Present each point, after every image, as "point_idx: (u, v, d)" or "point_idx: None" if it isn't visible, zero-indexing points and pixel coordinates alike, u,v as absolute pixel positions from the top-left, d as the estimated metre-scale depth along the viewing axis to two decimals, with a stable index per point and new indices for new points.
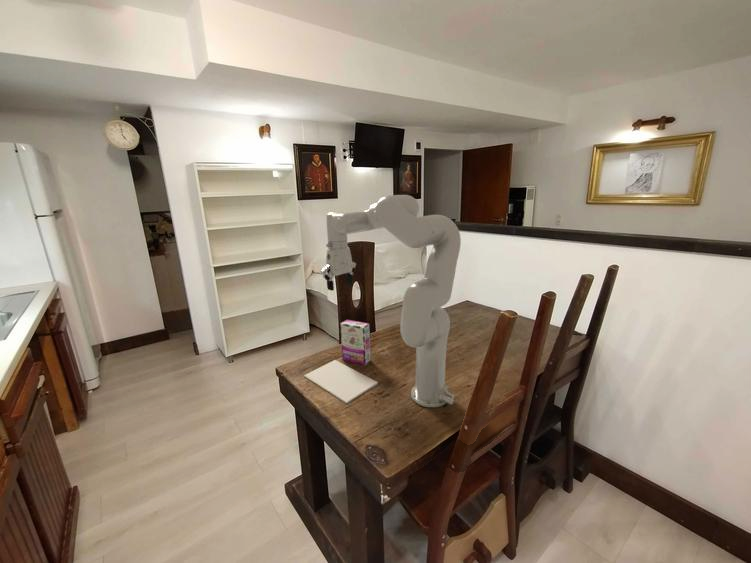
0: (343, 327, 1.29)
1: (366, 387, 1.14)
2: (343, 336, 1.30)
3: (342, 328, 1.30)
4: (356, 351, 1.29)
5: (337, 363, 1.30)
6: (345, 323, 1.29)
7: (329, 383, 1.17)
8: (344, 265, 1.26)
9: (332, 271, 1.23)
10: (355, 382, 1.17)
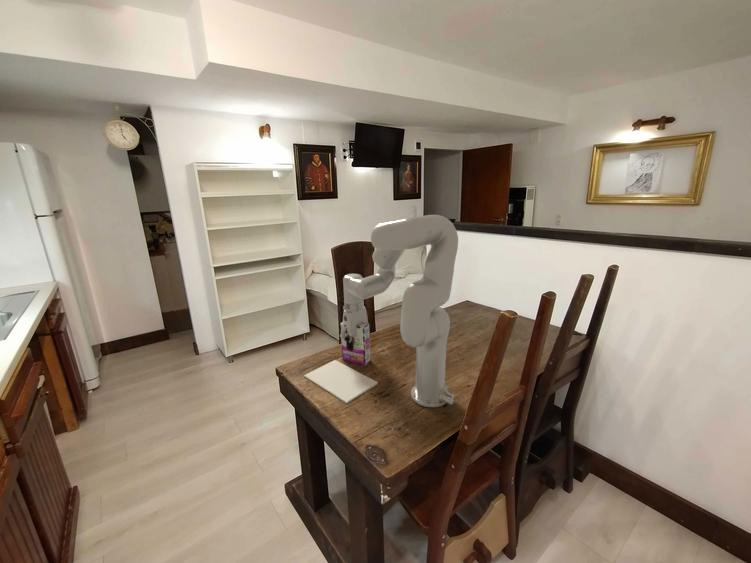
0: None
1: (366, 387, 1.14)
2: None
3: (342, 328, 1.30)
4: (356, 351, 1.29)
5: (337, 363, 1.30)
6: None
7: (329, 383, 1.17)
8: None
9: (349, 332, 1.25)
10: (355, 382, 1.17)
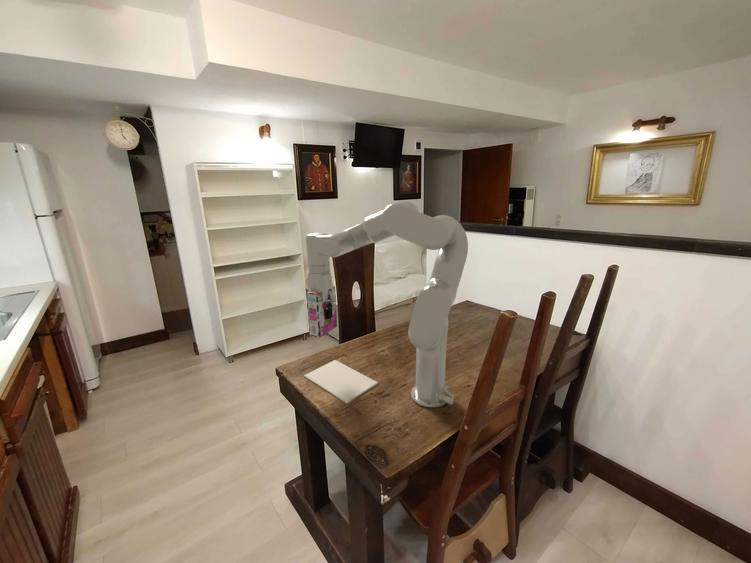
0: None
1: (366, 387, 1.14)
2: None
3: None
4: None
5: (337, 363, 1.30)
6: None
7: (329, 383, 1.17)
8: None
9: None
10: (355, 382, 1.17)
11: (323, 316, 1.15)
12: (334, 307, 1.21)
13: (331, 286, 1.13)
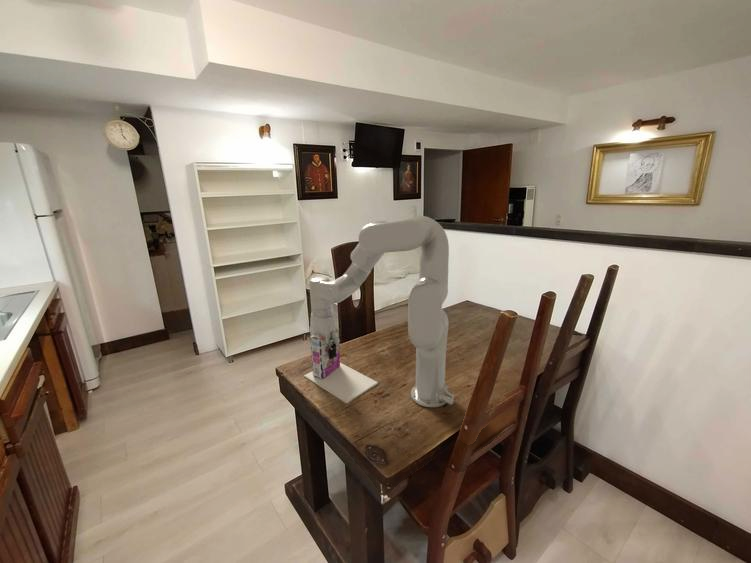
0: None
1: (366, 387, 1.14)
2: None
3: None
4: None
5: None
6: None
7: (329, 383, 1.17)
8: (318, 334, 1.18)
9: None
10: (355, 382, 1.17)
11: (326, 358, 1.19)
12: (337, 348, 1.25)
13: (333, 328, 1.17)
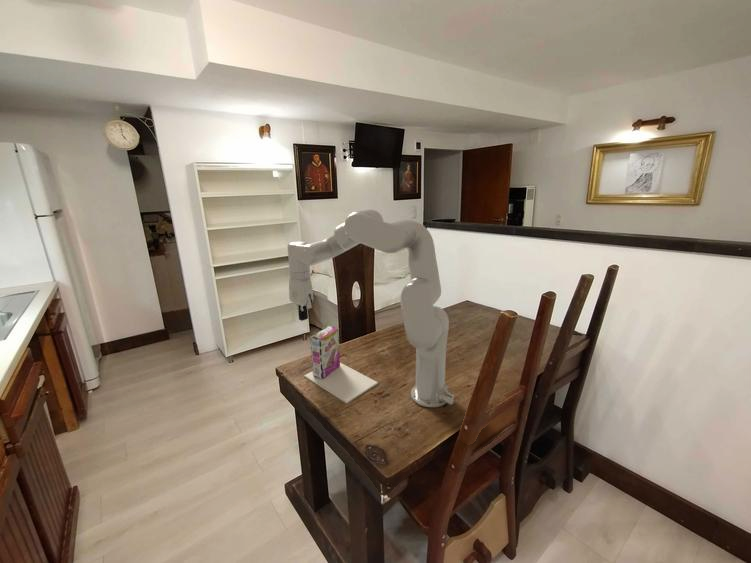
0: None
1: (366, 387, 1.14)
2: None
3: None
4: None
5: None
6: (327, 328, 1.24)
7: (329, 383, 1.17)
8: (296, 296, 1.23)
9: None
10: (355, 382, 1.17)
11: (326, 358, 1.19)
12: (337, 348, 1.25)
13: (310, 291, 1.22)
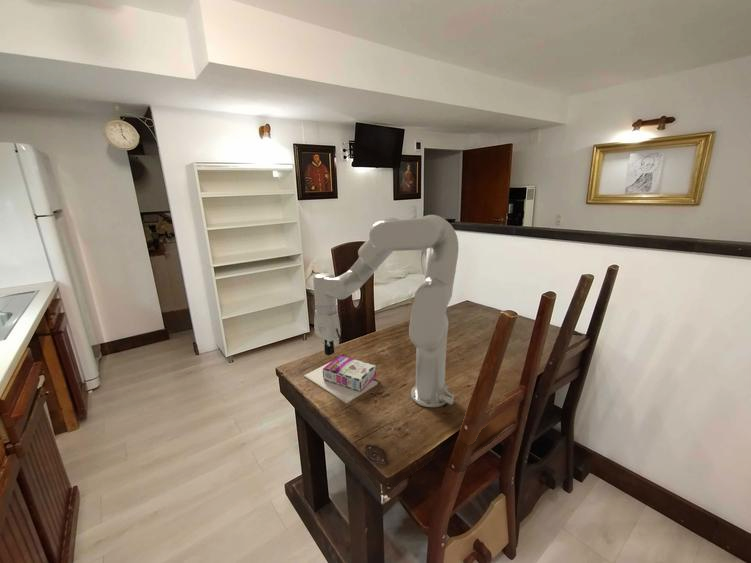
0: (370, 366, 1.18)
1: (366, 387, 1.14)
2: (361, 363, 1.21)
3: (369, 364, 1.19)
4: (341, 367, 1.18)
5: None
6: (373, 369, 1.18)
7: (329, 383, 1.17)
8: (322, 331, 1.16)
9: None
10: None
11: None
12: None
13: (338, 325, 1.15)
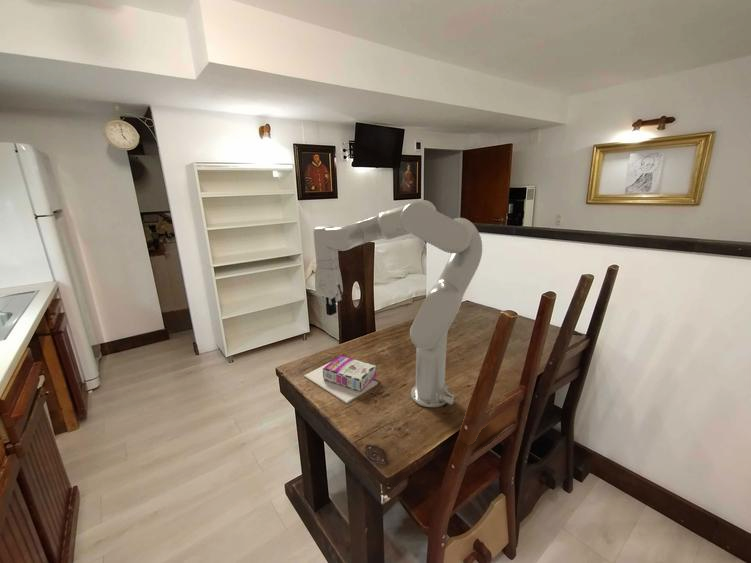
0: (370, 366, 1.18)
1: (366, 387, 1.14)
2: (361, 363, 1.21)
3: (369, 365, 1.19)
4: (341, 367, 1.18)
5: None
6: (373, 369, 1.18)
7: (329, 383, 1.17)
8: (324, 288, 1.09)
9: None
10: None
11: None
12: None
13: (340, 281, 1.09)
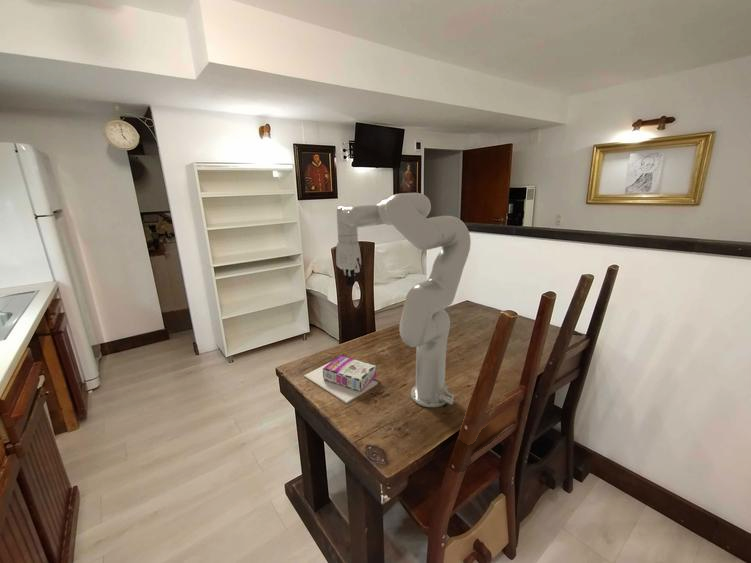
0: (370, 366, 1.18)
1: (366, 387, 1.14)
2: (361, 363, 1.21)
3: (369, 365, 1.19)
4: (341, 367, 1.18)
5: None
6: (373, 369, 1.18)
7: (329, 383, 1.17)
8: (344, 261, 1.24)
9: None
10: None
11: None
12: None
13: (359, 255, 1.23)
